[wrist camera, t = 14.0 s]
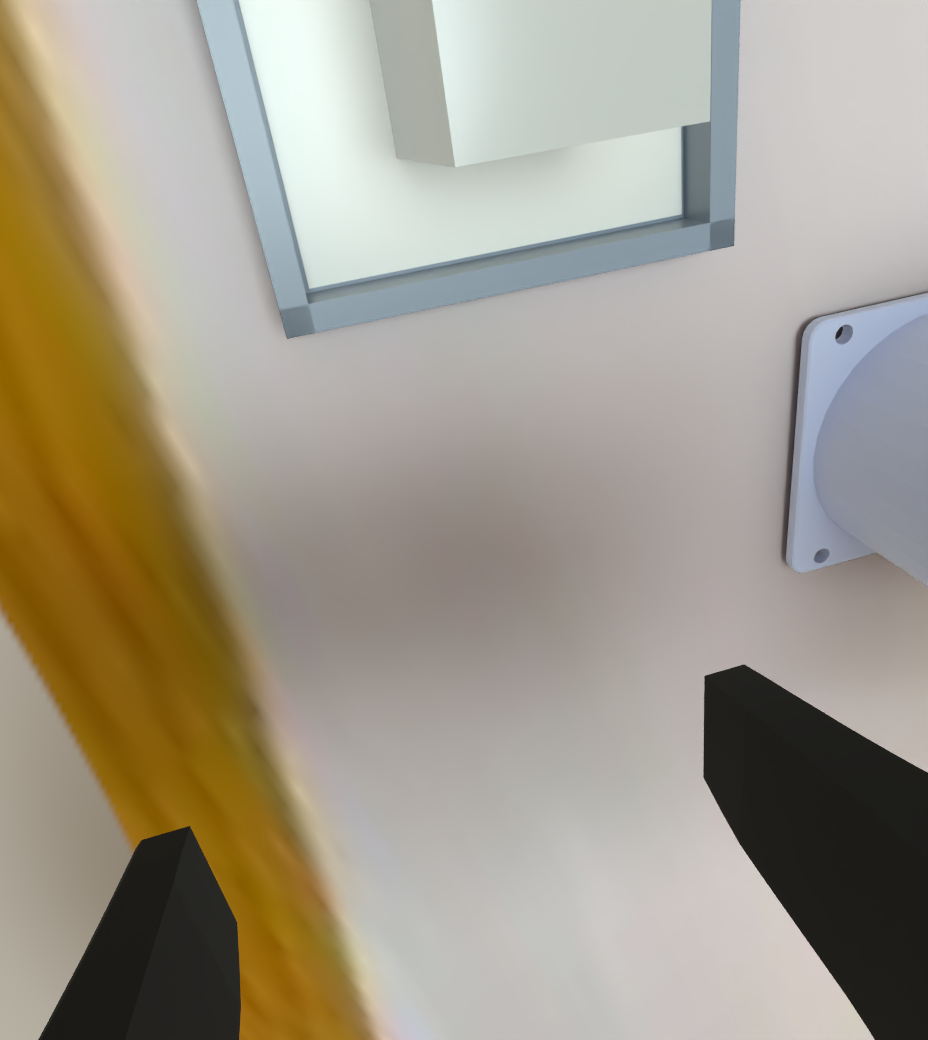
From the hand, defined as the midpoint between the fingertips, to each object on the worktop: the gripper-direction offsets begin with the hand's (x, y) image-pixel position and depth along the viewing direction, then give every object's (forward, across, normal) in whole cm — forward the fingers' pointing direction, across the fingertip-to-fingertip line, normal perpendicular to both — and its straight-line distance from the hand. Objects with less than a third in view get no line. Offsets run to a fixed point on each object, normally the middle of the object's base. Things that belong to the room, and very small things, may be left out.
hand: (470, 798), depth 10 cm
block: (+10, -4, -10) cm, 14 cm away
